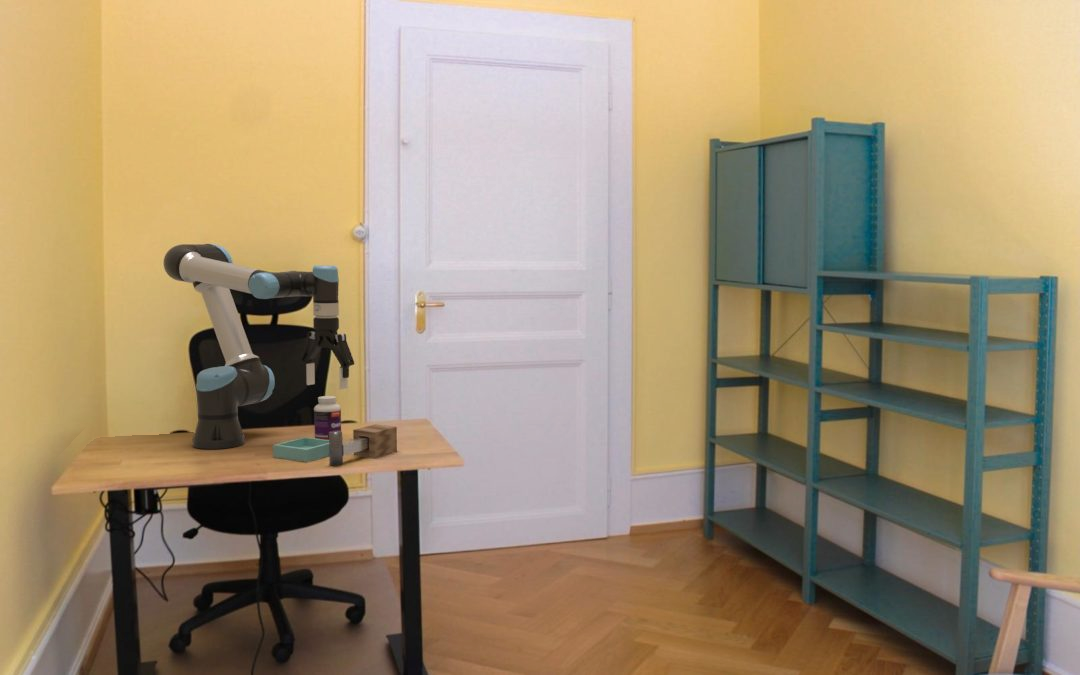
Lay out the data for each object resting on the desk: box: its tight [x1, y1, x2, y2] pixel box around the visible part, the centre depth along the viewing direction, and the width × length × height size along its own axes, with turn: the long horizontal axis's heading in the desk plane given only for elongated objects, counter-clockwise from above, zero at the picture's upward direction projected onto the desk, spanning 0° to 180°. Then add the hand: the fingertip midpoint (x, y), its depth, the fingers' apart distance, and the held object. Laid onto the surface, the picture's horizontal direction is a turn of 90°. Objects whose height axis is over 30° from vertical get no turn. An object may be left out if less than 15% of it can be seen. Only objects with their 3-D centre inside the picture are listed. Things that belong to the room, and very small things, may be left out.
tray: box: [272, 436, 329, 463], centre depth 279 cm, size 13×13×4 cm
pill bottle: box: [313, 395, 342, 440], centre depth 295 cm, size 8×8×14 cm
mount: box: [352, 423, 398, 459], centre depth 281 cm, size 10×8×8 cm
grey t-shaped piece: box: [328, 430, 369, 466], centre depth 272 cm, size 17×4×9 cm, turn 150°
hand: (326, 386), depth 291 cm, fingers open, 13 cm apart
